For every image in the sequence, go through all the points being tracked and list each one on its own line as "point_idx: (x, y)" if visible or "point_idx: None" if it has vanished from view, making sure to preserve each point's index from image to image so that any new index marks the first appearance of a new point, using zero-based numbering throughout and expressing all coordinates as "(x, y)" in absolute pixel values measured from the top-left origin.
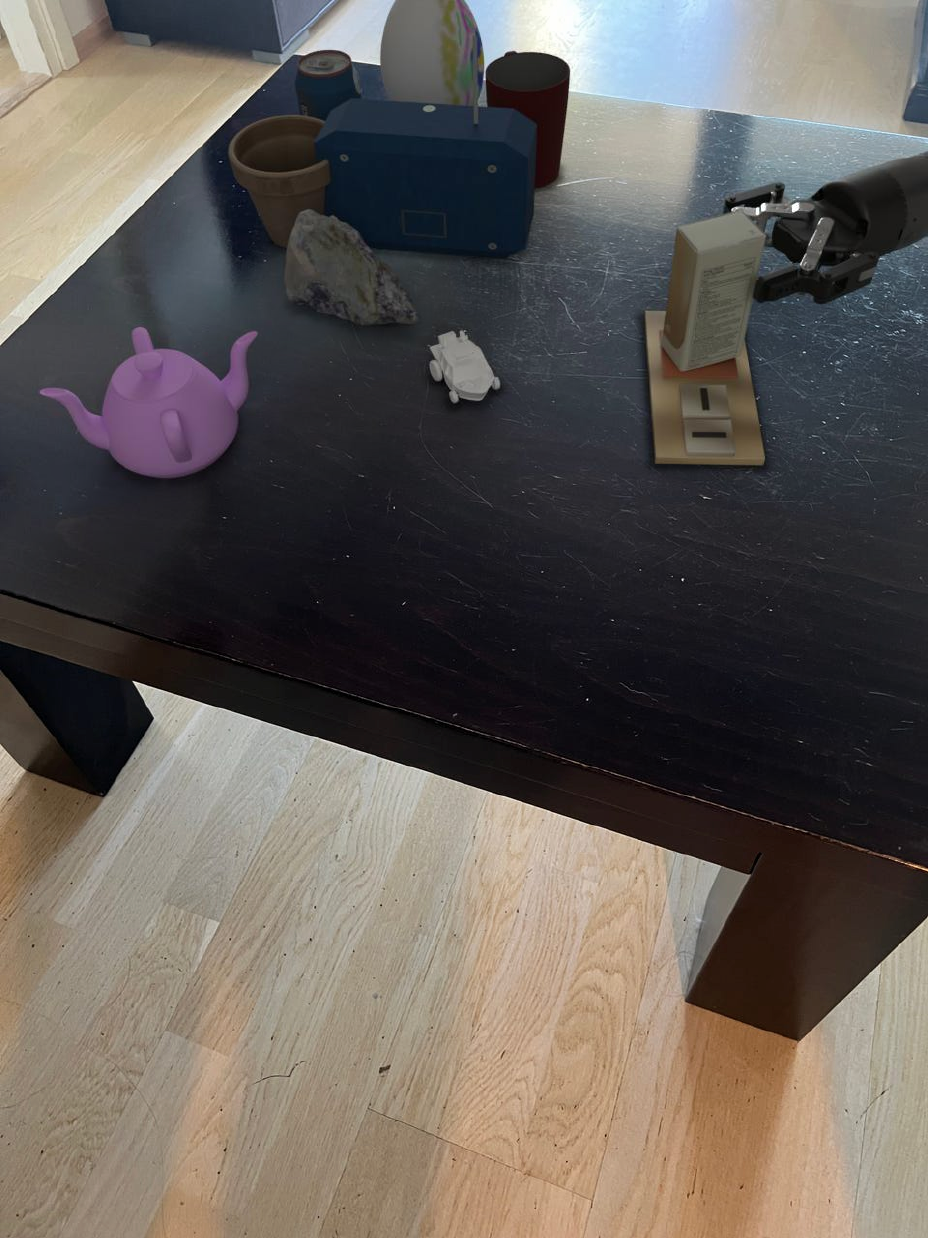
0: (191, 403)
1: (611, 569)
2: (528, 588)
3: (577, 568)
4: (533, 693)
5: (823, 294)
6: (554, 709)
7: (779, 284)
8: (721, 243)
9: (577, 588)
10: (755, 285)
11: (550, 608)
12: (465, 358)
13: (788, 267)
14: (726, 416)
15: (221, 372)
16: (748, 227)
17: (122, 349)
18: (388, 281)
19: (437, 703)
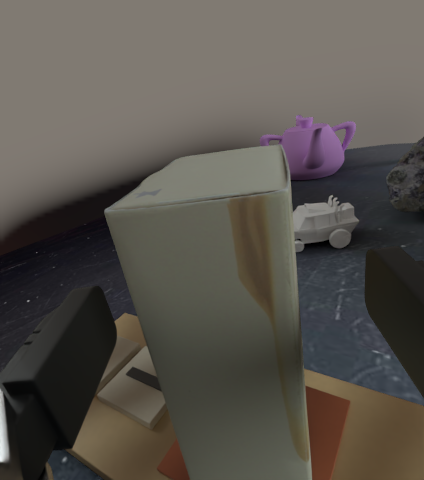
0: (286, 140)
1: (79, 273)
2: (110, 245)
3: (98, 262)
4: (62, 240)
5: None
6: (48, 244)
7: (41, 325)
8: (167, 169)
9: (87, 259)
10: (104, 299)
11: (90, 250)
12: (306, 210)
13: (43, 356)
14: (100, 391)
15: (366, 174)
16: (175, 191)
17: (397, 156)
18: (416, 166)
19: (95, 221)
